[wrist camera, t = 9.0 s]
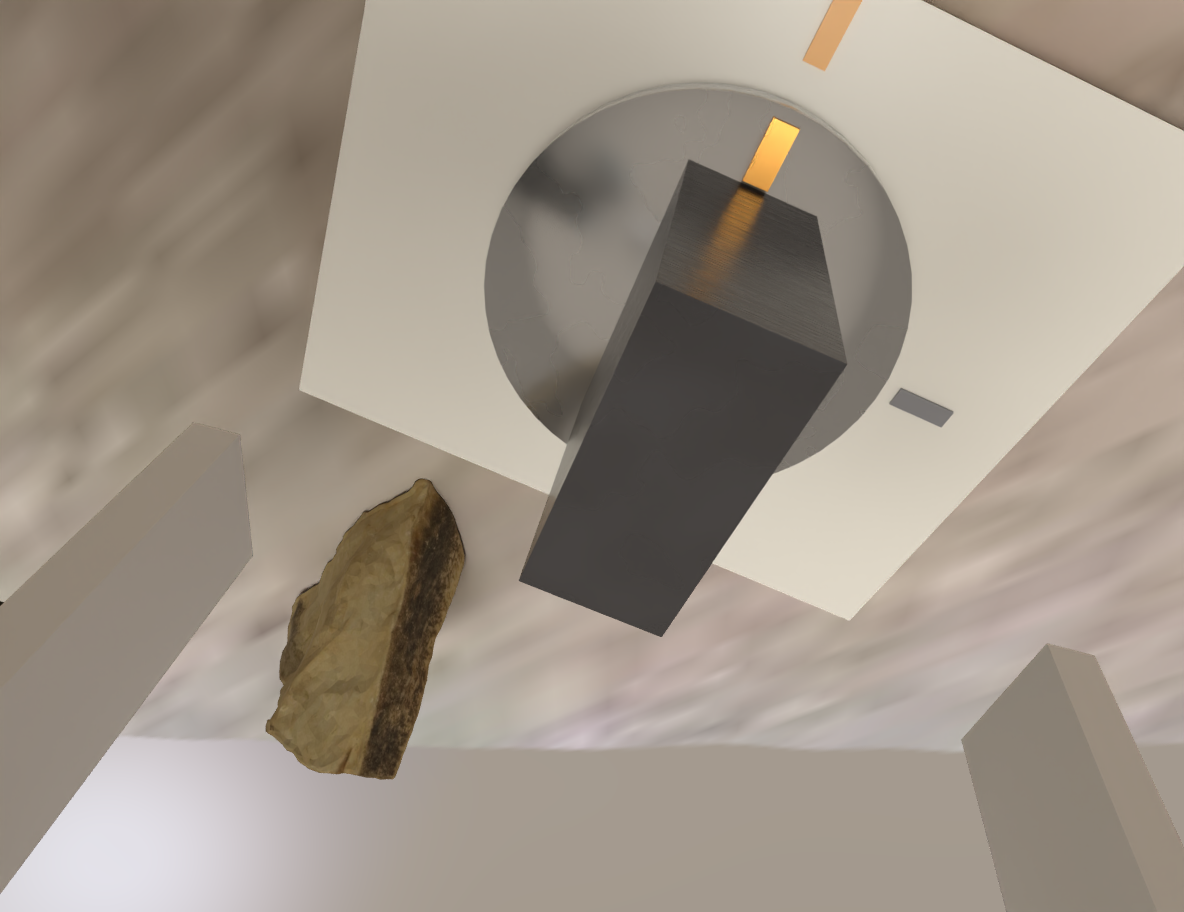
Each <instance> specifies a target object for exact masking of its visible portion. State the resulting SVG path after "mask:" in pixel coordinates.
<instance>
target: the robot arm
mask: <svg viewBox="0 0 1184 912" xmlns="http://www.w3.org/2000/svg"><path fill="white" fill-rule="evenodd" d="M252 556H253V551H252V541H251V532H250V523H249V513H248V504H247V495H246V486H245V476H244V467H243V458H242V448H241V439H240V434H236V433H233V432H229V431H225V430H221V429H217V428H213V427H209V426H206V425H202V424H198V423H194V422H193V423H192V424H191V425H190V426H189V427H188V428H187V429H186V430H185V431H184V432H183V433H182V434H181V435H180V436H178V437H177V438H176V439H175V440H174V441H173V442H172V443H171V444H170V445H169V446H168V447H167V448H166V449H165V450H164V451H163V452H162V453H161V454H160V455H159V456H157V457H156V458H155V459H154V460H153V461H152V462H151V463H150V464H149V465H148V466H147V467H146V468H145V469H144V470H143V471H142V472H141V473H140V474H139V475H138V476H136V477H135V478H134V479H133V480H132V481H131V482H130V483H129V484H128V485H127V486H126V487H125V488H124V489H123V490H122V491H121V492H120V493H119V494H118V495H117V496H115V497H114V498H113V499H112V500H111V501H110V502H109V503H108V504H107V505H106V506H105V507H104V508H103V509H102V510H101V511H100V512H99V513H98V514H97V515H96V516H94V517H93V518H92V519H91V520H90V521H89V522H88V523H87V524H86V525H85V526H84V527H83V528H82V529H81V530H80V531H79V532H78V533H77V534H76V535H75V536H73V537H72V538H71V539H70V540H69V541H68V542H67V543H66V544H65V545H64V546H63V547H62V548H61V549H60V550H59V551H58V552H57V553H56V554H55V555H54V556H52V557H51V558H50V559H49V560H48V561H47V562H46V563H45V564H44V565H43V566H42V567H41V568H40V569H39V570H38V571H37V572H36V573H35V574H34V575H33V576H31V577H30V578H29V579H28V580H27V581H26V582H25V583H24V584H23V585H22V586H21V587H20V588H19V589H18V590H17V591H16V592H15V593H14V594H13V595H12V596H10V597H9V598H8V599H7V600H6V601H5V602H1V601H0V894H1V892H2V891H3V890H4V888H5V887H6V886H7V884H8V883H9V881H10V880H11V879H12V878H13V876H14V875H15V874H16V872H17V871H18V870H19V868H20V867H21V866H22V864H23V863H24V862H25V860H26V859H27V858H28V856H29V855H30V854H31V852H32V851H33V850H34V848H35V847H36V845H37V844H38V843H39V842H40V840H41V839H42V838H43V836H44V835H45V833H46V832H47V831H48V829H49V828H50V827H51V825H52V824H53V823H54V821H55V820H56V819H57V817H58V816H59V815H60V813H61V812H62V811H63V809H64V808H65V807H66V805H67V804H68V803H69V801H70V800H71V798H72V797H73V796H74V795H75V793H76V792H77V791H78V789H79V788H80V787H81V785H82V784H83V783H84V781H85V780H86V778H87V777H88V776H89V775H90V773H91V772H92V770H93V769H94V768H95V766H96V765H97V764H98V762H99V761H100V760H101V758H102V757H103V756H104V754H105V753H106V752H107V750H108V749H109V748H110V746H111V745H112V744H113V742H114V741H115V739H116V738H117V737H118V736H119V734H120V733H121V732H122V730H123V729H124V728H125V726H126V725H127V724H128V722H129V721H130V720H131V718H132V717H133V716H134V714H135V713H136V712H137V710H138V709H139V708H140V706H141V705H142V703H143V702H144V701H145V699H146V698H147V697H148V695H149V694H150V693H151V691H152V690H153V689H154V687H155V686H156V685H157V683H158V682H159V681H160V679H161V678H162V677H163V675H164V674H165V673H166V671H167V670H168V669H169V667H170V666H171V665H172V663H173V662H174V661H175V659H176V658H177V657H178V655H179V654H180V653H181V651H182V650H183V649H184V647H185V646H186V645H187V643H188V642H189V640H190V639H191V638H192V636H193V635H194V634H195V632H196V631H197V630H198V628H199V627H200V626H201V624H202V623H203V622H204V620H205V619H206V618H207V616H208V615H209V614H210V612H211V611H212V610H213V608H214V607H215V606H216V604H217V603H218V602H219V600H220V599H221V598H222V596H223V595H224V594H225V592H226V591H227V590H228V588H229V587H230V586H231V584H232V583H233V582H234V580H235V579H236V577H237V576H238V575H239V573H240V572H241V571H242V569H243V568H244V567H245V565H246V564H247V563H248V561H249V560H250V559H251V557H252ZM962 744H963V748H964V752H965V755H966V759H967V763H968V767H969V771H970V774H971V778H972V782H973V786H974V790H975V793H976V797H977V801H978V805H979V809H980V813H981V816H982V821H983V824H984V828H985V832H986V836H987V840H988V844H989V847H990V851H991V855H992V859H993V862H994V867H995V870H996V874H997V878H998V882H999V885H1000V889H1001V893H1002V897H1003V901H1004V905H1005V908H1006V912H1184V847H1183V844H1182V842H1181V840H1180V838H1179V836H1178V833H1177V831H1176V829H1175V827H1174V825H1173V823H1172V820H1171V818H1170V816H1169V814H1168V812H1167V810H1166V808H1165V805H1164V804H1163V801H1162V799H1161V797H1160V795H1159V793H1158V790H1157V788H1156V786H1155V784H1154V782H1153V780H1152V778H1151V775H1150V774H1149V771H1148V769H1147V767H1146V765H1145V763H1144V760H1143V758H1142V756H1141V754H1140V752H1139V750H1138V748H1137V745H1136V743H1135V741H1134V739H1133V737H1132V735H1131V733H1130V730H1129V728H1128V726H1127V724H1126V722H1125V720H1124V718H1123V715H1122V713H1121V711H1120V709H1119V707H1118V705H1117V703H1116V700H1115V698H1114V696H1113V694H1112V692H1111V690H1110V687H1109V685H1108V683H1107V681H1106V679H1105V677H1104V675H1103V672H1102V670H1101V668H1100V666H1099V664H1098V662H1097V660H1096V657H1095V656H1094V655H1090V654H1087V653H1083V652H1079V651H1075V650H1071V649H1067V648H1063V647H1059V646H1056V645H1052V644H1048V643H1047V644H1046V645H1045V646H1044V647H1043V648H1042V650H1041V651H1040V652H1039V653H1038V654H1037V655H1036V656H1035V657H1034V659H1033V660H1032V661H1031V662H1030V663H1029V664H1028V665H1027V666H1026V668H1025V669H1024V670H1023V671H1022V672H1021V673H1020V674H1019V675H1018V677H1017V678H1016V679H1015V680H1014V681H1013V682H1012V683H1011V684H1010V686H1009V687H1008V688H1007V689H1006V690H1005V691H1004V692H1003V693H1002V695H1001V696H1000V697H999V698H998V699H997V700H996V701H995V702H994V704H993V705H992V706H991V707H990V708H989V709H988V710H987V711H986V713H985V714H984V715H983V716H982V717H981V718H980V719H979V720H978V722H977V723H976V724H975V725H974V726H973V727H972V728H971V729H970V731H969V732H968V733H967V734H966V735H965V736H964V737H963V738H962Z"/></svg>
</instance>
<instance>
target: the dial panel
mask: <svg viewBox="0 0 1184 912" xmlns="http://www.w3.org/2000/svg"><path fill="white" fill-rule="evenodd" d="M691 82H710V83H725V84H734V85H738V86H743V87H748V88H753V89H757V90H762V91H765V92H767V93H770V94H773V95H775V96H778V97H781V98H783V99H786V100H789V101H791V102H793V103H795V104H797V105H799V106H800V107H802V108H804V109H806V110H808V111H810V112H811V113H813V114H815V115H817V116H819V117H820V118H821V119H822V120H824V121H825V122H826V123H828V124H829V125H830V126H832V127H833V128H834V129H836V130H837V131H838V132H839V133H841V134H842V135H843V136H844V137H845V138H846V139H847V140H848V141H849V142H850V143H851V144H852V145H853V146H854V147H855V148H856V149H857V150H858V151H859V152H860V153H861V155H862V156H863V157H864V158H865V160H866V161H867V162H868V164H869V165H870V167H871V168H872V169H873V171H874V172H875V174H876V175H877V177H878V178H879V179H880V181H881V183H882V185H883V187H884V189H885V191H886V193H887V195H888V197H889V199H890V201H891V203H892V205H893V207H894V209H895V211H896V213H897V216H898V218H899V221H900V224H901V227H902V230H903V233H904V236H905V240H906V243H907V246H908V252H909V259H910V265H911V272H912V304H911V311H910V317H909V324H908V330H907V333H906V336H905V340H904V343H903V346H902V350H901V353H900V355H899V358H898V360H897V362H896V364H895V366H894V368H893V371H892V373H891V375H890V377H889V379H888V380H887V382H886V384H885V385H884V387H883V388H882V390H881V391H880V393H879V395H878V396H877V398H876V399H875V401H874V402H873V403H872V404H871V405H870V407H869V408H868V409H867V410H866V411H865V413H864V414H863V415H862V416H861V417H860V418H859V420H858V421H856V422H855V423H854V424H853V425H852V426H851V427H850V428H849V429H848V430H847V431H846V432H845V433H844V434H842V435H841V436H840V437H839V438H838V439H836V440H835V441H833V442H832V443H831V444H829V445H828V446H827V447H825V448H824V449H822V450H821V451H820V452H818V453H816V454H814V455H813V456H811V457H809V458H807V459H805V460H804V461H802V462H800V463H798V464H796V465H794V466H791V467H789V468H787V469H784V470H782V471H779V472H777V473H774V474H772V476H771V477H770V479H769V480H768V482H767V483H766V485H765V486H764V488H763V489H762V491H761V492H760V493H759V495H758V496H757V498H756V499H755V501H754V502H753V504H752V505H751V507H750V508H749V510H748V511H747V513H746V514H745V515H744V517H743V518H742V520H741V521H740V523H739V524H738V526H737V527H736V529H735V530H734V532H733V533H732V535H731V536H730V538H729V539H728V540H727V542H726V543H725V545H724V546H723V548H722V549H721V551H720V552H719V554H718V555H717V557H716V558H715V560H714V561H713V562H712V563H713V564H715V565H717V566H720V567H722V568H725V569H727V570H729V571H732V572H734V573H736V574H739V575H741V576H744V577H746V578H748V579H751V580H753V581H756V582H758V583H760V584H763V585H765V586H767V587H770V588H772V589H775V590H777V591H779V592H782V593H784V594H787V595H789V596H791V597H794V598H796V599H798V600H801V601H803V602H806V603H808V604H810V605H813V606H815V607H818V608H820V609H822V610H825V611H827V612H829V613H832V614H834V615H837V616H839V617H841V618H844V619H846V620H850V619H851V618H852V617H853V616H854V615H855V614H856V613H857V612H858V611H859V610H860V609H861V608H862V607H863V606H864V605H865V604H866V602H867V601H868V600H869V599H870V598H871V597H872V596H873V595H874V594H875V593H876V592H877V591H878V590H879V589H880V588H881V587H882V586H883V584H884V583H885V582H886V581H887V580H888V579H889V578H890V577H891V576H892V575H893V574H894V573H895V572H896V571H897V570H898V569H899V567H900V566H901V565H902V564H903V563H904V562H905V561H906V560H907V559H908V558H909V557H910V556H911V555H912V554H913V553H914V552H915V551H916V549H917V548H918V547H919V546H920V545H921V544H922V543H923V542H924V541H925V540H926V539H927V538H928V537H929V536H930V535H931V534H932V532H933V531H934V530H935V529H936V528H937V527H938V526H939V525H940V524H941V523H942V522H943V521H944V520H945V519H946V518H947V517H948V516H949V514H950V513H951V512H952V511H953V510H954V509H955V508H956V507H957V506H958V505H959V504H960V503H961V502H962V501H963V500H964V499H965V498H966V496H967V495H968V494H969V493H970V492H971V491H972V490H973V489H974V488H975V487H976V486H977V485H978V484H979V483H980V482H981V481H982V479H983V478H984V477H985V476H986V475H987V474H988V473H989V472H990V471H991V470H992V469H993V468H994V467H995V466H996V465H997V464H998V463H999V461H1000V460H1001V459H1002V458H1003V457H1004V456H1005V455H1006V454H1007V453H1008V452H1009V451H1010V450H1011V449H1012V448H1013V447H1014V446H1015V445H1016V443H1017V442H1018V441H1019V440H1020V439H1021V438H1022V437H1023V436H1024V435H1025V434H1026V433H1027V432H1028V431H1029V430H1030V429H1031V428H1032V426H1033V425H1034V424H1035V423H1036V422H1037V421H1038V420H1039V419H1040V418H1041V417H1042V416H1043V415H1044V414H1045V413H1046V412H1047V411H1048V410H1049V408H1050V407H1051V406H1052V405H1053V404H1054V403H1055V402H1056V401H1057V400H1058V399H1059V398H1060V397H1061V396H1062V395H1063V394H1064V393H1065V391H1066V390H1067V389H1068V388H1069V387H1070V386H1071V385H1072V384H1073V383H1074V382H1075V381H1076V380H1077V379H1078V378H1079V377H1080V376H1081V375H1082V373H1083V372H1084V371H1085V370H1086V369H1087V368H1088V367H1089V366H1090V365H1091V364H1092V363H1093V362H1094V361H1095V360H1096V359H1097V358H1098V357H1099V355H1100V354H1101V353H1102V352H1103V351H1104V350H1105V349H1106V348H1107V347H1108V346H1109V345H1110V344H1111V343H1112V342H1113V341H1114V340H1115V338H1116V337H1117V336H1118V335H1119V334H1120V333H1121V332H1122V331H1123V330H1124V329H1125V328H1126V327H1127V326H1128V325H1129V324H1130V323H1131V322H1132V320H1133V319H1134V318H1135V317H1136V316H1137V315H1138V314H1139V313H1140V312H1141V311H1142V310H1143V309H1144V308H1145V307H1146V306H1147V305H1148V304H1149V302H1150V301H1151V300H1152V299H1153V298H1154V297H1155V296H1156V295H1157V294H1158V293H1159V292H1160V291H1161V290H1162V289H1163V288H1164V287H1165V285H1166V284H1167V283H1168V282H1169V281H1170V280H1171V279H1172V278H1173V277H1174V276H1175V275H1176V274H1177V273H1178V272H1179V271H1180V270H1181V269H1182V267H1183V266H1184V131H1183V130H1181V129H1179V128H1177V127H1175V126H1173V125H1171V124H1169V123H1167V122H1165V121H1163V120H1161V119H1159V118H1157V117H1155V116H1153V115H1151V114H1149V113H1147V112H1145V111H1143V110H1141V109H1139V108H1137V107H1135V106H1133V105H1131V104H1129V103H1127V102H1125V101H1123V100H1121V99H1119V98H1117V97H1115V96H1113V95H1111V94H1109V93H1107V92H1105V91H1103V90H1101V89H1099V88H1097V87H1095V86H1093V85H1091V84H1089V83H1087V82H1085V81H1083V80H1081V79H1079V78H1077V77H1075V76H1073V75H1071V74H1069V73H1067V72H1065V71H1063V70H1061V69H1059V68H1057V67H1055V66H1053V65H1051V64H1049V63H1047V62H1045V61H1043V60H1041V59H1039V58H1037V57H1035V56H1033V55H1031V54H1029V53H1027V52H1025V51H1023V50H1021V49H1019V48H1017V47H1015V46H1013V45H1011V44H1009V43H1007V42H1005V41H1003V40H1001V39H999V38H997V37H995V36H993V35H991V34H989V33H987V32H985V31H983V30H981V29H979V28H977V27H975V26H973V25H971V24H969V23H967V22H965V21H963V20H961V19H958V18H956V17H954V16H952V15H950V14H948V13H946V12H944V11H942V10H940V9H938V8H936V7H934V6H932V5H930V4H928V3H926V2H924V1H922V0H366V3H365V9H364V15H363V20H362V26H361V32H360V38H359V44H358V49H357V55H356V61H355V67H354V73H353V79H352V84H351V90H350V96H349V102H348V108H347V113H346V119H345V125H344V131H343V137H342V143H341V148H340V154H339V160H338V166H337V172H336V177H335V183H334V189H333V195H332V201H331V207H330V212H329V218H328V224H327V230H326V236H325V241H324V247H323V253H322V259H321V265H320V270H319V276H318V282H317V288H316V294H315V300H314V305H313V311H312V317H311V323H310V329H309V334H308V340H307V346H306V352H305V358H304V364H303V369H302V375H301V381H300V387H299V390H300V391H303V392H305V393H307V394H310V395H312V396H314V397H317V398H319V399H322V400H324V401H326V402H329V403H331V404H334V405H336V406H338V407H341V408H343V409H345V410H348V411H350V412H353V413H355V414H357V415H360V416H362V417H365V418H367V419H369V420H372V421H374V422H376V423H379V424H381V425H384V426H386V427H388V428H391V429H393V430H396V431H398V432H400V433H403V434H405V435H407V436H410V437H412V438H415V439H417V440H419V441H422V442H424V443H427V444H429V445H431V446H434V447H436V448H438V449H441V450H443V451H446V452H448V453H450V454H453V455H455V456H458V457H460V458H462V459H465V460H467V461H469V462H472V463H474V464H477V465H479V466H481V467H484V468H486V469H489V470H491V471H493V472H496V473H498V474H500V475H503V476H505V477H508V478H510V479H512V480H515V481H517V482H520V483H522V484H524V485H527V486H529V487H531V488H534V489H536V490H539V491H541V492H543V493H546V494H548V495H549V494H550V491H551V488H552V485H553V483H554V480H555V477H556V474H557V471H558V468H559V466H560V463H561V460H562V457H563V454H564V452H565V449H566V446H567V444H565V443H564V442H563V441H562V440H560V439H559V438H558V437H556V436H555V435H554V434H553V433H551V432H550V431H549V430H548V429H547V428H546V427H545V426H544V425H543V424H542V423H541V422H540V421H539V420H538V419H537V418H536V417H535V416H534V415H533V413H532V412H531V411H530V410H529V409H528V407H527V406H526V405H525V404H524V402H523V401H522V400H521V399H520V397H519V396H518V394H517V393H516V391H515V389H514V388H513V386H512V385H511V383H510V382H509V380H508V378H507V376H506V374H505V372H504V370H503V368H502V366H501V364H500V362H499V359H498V357H497V354H496V351H495V348H494V345H493V342H492V339H491V336H490V332H489V327H488V322H487V317H486V311H485V295H484V279H485V266H486V258H487V254H488V249H489V245H490V240H491V236H492V233H493V230H494V227H495V225H496V222H497V219H498V217H499V214H500V211H501V209H502V207H503V206H504V204H505V202H506V200H507V198H508V196H509V195H510V193H511V191H512V189H513V187H514V186H515V184H516V183H517V182H518V180H519V179H520V178H521V176H522V175H523V174H524V172H525V171H526V170H527V168H528V167H529V166H530V164H531V163H532V162H533V161H534V160H535V159H536V157H537V156H538V155H539V154H540V153H541V152H542V151H543V150H544V149H545V148H546V147H547V146H548V145H549V144H550V143H551V142H552V141H553V140H554V139H555V138H556V137H557V136H558V135H559V134H560V133H561V132H563V131H564V130H565V129H567V128H568V127H569V126H571V125H572V124H573V123H575V122H576V121H577V120H579V119H580V118H581V117H583V116H584V115H586V114H588V113H590V112H592V111H593V110H595V109H597V108H599V107H601V106H603V105H604V104H606V103H608V102H610V101H613V100H615V99H618V98H621V97H623V96H626V95H629V94H631V93H634V92H637V91H640V90H645V89H649V88H654V87H658V86H662V85H667V84H678V83H691Z"/></svg>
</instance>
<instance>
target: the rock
mask: <svg viewBox="0 0 1184 912" xmlns="http://www.w3.org/2000/svg"><path fill="white" fill-rule="evenodd" d="M336 552H337V553H336V555H335V556H334V558H333V559H332V561H330V562H328V563H327V565H326V567H325V569H324V571H323V573H322V576H321V579H320V582H319V584H318V585H316V586H314V587H312V588H310V589H309V590H308V591H307V592H305V593H303V594H301V595H300V596H299V597H297V599H296V600H295V603H294V604H293V606H292V615H291V619H290V622H289V625H288V642H287V645H286V647H285V648H284V650H283V652H282V656H281V660H280V670H279V674H280V680H281V682H282V683H283V685H284V686H283V687H282V689H281V690H280V697H279V700H278V707H277V709H276V711H275V713H274V714H273V716H272V718H271V719H270V720H267V723H266V732H267V733H268V734H270V735H272V736H273V737H275V738H276V739H277V740H278V741H279V742H280V743H281V744H283V746H284V747H285V749H286V750H287V751H290V752H292V753H293V754H294V755H295V757H296V758H297V760H298V761H299V762H300V763H302V764H303V765H304V766H306V767H307V768H308V769H311V770H313V771H316V772H319V773H331V774H341V773H347V774H353V775H358V776H362V777H367V778H377V779H393V778H395V776H396V774H397V771H398V768H399V766H400V763H401V760H402V756H403V754H404V751H405V749H406V747H407V743H408V740H409V738H410V736H411V733H412V731H413V727H414V724H415V721H416V719H417V716H418V713H419V710H420V706H421V701H422V697H423V694H424V688H425V685H426V681H427V675H428V668H429V663H430V661H431V658H432V654H433V647H434V643H435V639H436V637H437V635H438V633H439V631H440V629H441V627H442V624H443V622H444V620H445V617H446V614H447V610H448V608H449V606H450V604H451V601H452V598H453V596H454V594H455V591H456V588H457V585H458V581H459V577H460V574H461V571H462V568H463V565H464V559H465V555H464V552H463V548H462V543H461V540H460V536H459V533H458V530H457V527H456V524H455V520H454V517H453V515H452V513H451V511H450V509H449V508H448V506H447V505H446V503H445V502H444V500H443V499H442V498H441V496H440V495H438V494H437V492H436V491H435V489H434V487H433V485H432V483H431V482H430V481H429V480H425V479H419V480H417V481H416V482H415V483H414V485H413V487H412V488H411V489H410V490H409V491H408V492H406V493H404V494H402V495H400V496H398V497H396V498H394V499H392V500H391V501H390V502H388V503H384V504H381V505H378V506H377V507H375V508H374V509H373V510H371V511H370V512H363V513H362V515H361V516H360V518H359V519H358V521H357V522H356V523H355V525H354V526H353V527H352V528H351V529H350V530H349V531H347V532H346V533H345V535H344V536H343V540H342V542H341V543H340V544H339V545H338V547H337V549H336Z"/></svg>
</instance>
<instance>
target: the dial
mask: <svg viewBox="0 0 1184 912" xmlns="http://www.w3.org/2000/svg"><path fill="white" fill-rule="evenodd" d="M484 295H485V311H486V317H487V322H488V327H489V332H490V336H491V339H492V342H493V345H494V348H495V351H496V354H497V357H498V359H499V362H500V364H501V366H502V368H503V370H504V372H505V374H506V376H507V378H508V380H509V382H510V383H511V385H512V386H513V388H514V389H515V391H516V393H517V394H518V396H519V397H520V399H521V400H522V401H523V402H524V404H525V405H526V406H527V407H528V409H529V410H530V411H531V412H532V413H533V415H534V416H535V417H536V418H537V419H538V420H539V421H540V422H541V423H542V424H543V425H544V426H545V427H546V428H547V429H548V430H549V431H550V432H551V433H553V434H554V435H555V436H556V437H558V438H559V439H560V440H562V441H563V442H564V443H565V444H567V446H566V449H565V452H564V454H563V457H562V460H561V463H560V466H559V468H558V471H557V474H556V477H555V480H554V483H553V485H552V488H551V491H550V494H549V497H548V500H547V502H546V505H545V508H544V511H543V514H542V516H541V519H540V522H539V525H538V528H537V531H536V533H535V536H534V539H533V542H532V545H531V548H530V550H529V553H528V556H527V559H526V562H525V565H524V567H523V570H522V573H521V576H520V579H519V581H520V582H523V583H525V584H528V585H530V586H533V587H536V588H538V589H541V590H543V591H546V592H548V593H551V594H553V595H556V596H558V597H561V598H563V599H566V600H568V601H571V602H574V603H576V604H579V605H581V606H584V607H586V608H589V609H591V610H594V611H596V612H599V613H601V614H604V615H606V616H609V617H612V618H614V619H617V620H619V621H622V622H624V623H627V624H629V625H632V626H634V627H637V628H639V629H642V630H644V631H647V632H649V633H652V634H655V635H657V636H660V637H662V636H663V634H664V633H665V631H666V630H667V629H668V627H669V626H670V624H671V623H672V621H673V620H674V618H675V617H676V615H677V614H678V612H679V611H680V609H681V608H682V607H683V605H684V604H685V602H686V601H687V599H688V598H689V596H690V595H691V593H692V592H693V590H694V589H695V587H696V586H697V584H698V583H699V582H700V580H701V579H702V577H703V576H704V574H705V573H706V571H707V570H708V568H709V567H710V565H711V564H712V562H713V561H714V560H715V558H716V557H717V555H718V554H719V552H720V551H721V549H722V548H723V546H724V545H725V543H726V542H727V540H728V539H729V538H730V536H731V535H732V533H733V532H734V530H735V529H736V527H737V526H738V524H739V523H740V521H741V520H742V518H743V517H744V515H745V514H746V513H747V511H748V510H749V508H750V507H751V505H752V504H753V502H754V501H755V499H756V498H757V496H758V495H759V493H760V492H761V491H762V489H763V488H764V486H765V485H766V483H767V482H768V480H769V479H770V477H771V476H772V474H774V473H777V472H779V471H782V470H784V469H787V468H789V467H791V466H794V465H796V464H798V463H800V462H802V461H804V460H805V459H807V458H809V457H811V456H813V455H814V454H816V453H818V452H820V451H821V450H822V449H824V448H825V447H827V446H828V445H829V444H831V443H832V442H833V441H835V440H836V439H838V438H839V437H840V436H841V435H842V434H844V433H845V432H846V431H847V430H848V429H849V428H850V427H851V426H852V425H853V424H854V423H855V422H856V421H858V420H859V418H860V417H861V416H862V415H863V414H864V413H865V411H866V410H867V409H868V408H869V407H870V405H871V404H872V403H873V402H874V401H875V399H876V398H877V396H878V395H879V393H880V391H881V390H882V388H883V387H884V385H885V384H886V382H887V380H888V379H889V377H890V375H891V373H892V371H893V368H894V366H895V364H896V362H897V360H898V358H899V355H900V353H901V350H902V346H903V343H904V340H905V336H906V333H907V330H908V324H909V317H910V311H911V304H912V272H911V265H910V259H909V252H908V246H907V243H906V240H905V236H904V233H903V230H902V227H901V224H900V221H899V218H898V216H897V213H896V211H895V209H894V207H893V205H892V203H891V201H890V199H889V197H888V195H887V193H886V191H885V189H884V187H883V185H882V183H881V181H880V179H879V178H878V177H877V175H876V174H875V172H874V171H873V169H872V168H871V167H870V165H869V164H868V162H867V161H866V160H865V158H864V157H863V156H862V155H861V153H860V152H859V151H858V150H857V149H856V148H855V147H854V146H853V145H852V144H851V143H850V142H849V141H848V140H847V139H846V138H845V137H844V136H843V135H842V134H841V133H839V132H838V131H837V130H836V129H834V128H833V127H832V126H830V125H829V124H828V123H826V122H825V121H824V120H822V119H821V118H820V117H819V116H817V115H815V114H813V113H811V112H810V111H808V110H806V109H804V108H802V107H800V106H799V105H797V104H795V103H793V102H791V101H789V100H786V99H783V98H781V97H778V96H775V95H773V94H770V93H767V92H765V91H762V90H757V89H753V88H748V87H743V86H738V85H734V84H725V83H710V82H691V83H678V84H667V85H662V86H658V87H654V88H649V89H645V90H640V91H637V92H634V93H631V94H629V95H626V96H623V97H621V98H618V99H615V100H613V101H610V102H608V103H606V104H604V105H603V106H601V107H599V108H597V109H595V110H593V111H592V112H590V113H588V114H586V115H584V116H583V117H581V118H580V119H579V120H577V121H576V122H575V123H573V124H572V125H571V126H569V127H568V128H567V129H565V130H564V131H563V132H561V133H560V134H559V135H558V136H557V137H556V138H555V139H554V140H553V141H552V142H551V143H550V144H549V145H548V146H547V147H546V148H545V149H544V150H543V151H542V152H541V153H540V154H539V155H538V156H537V157H536V159H535V160H534V161H533V162H532V163H531V164H530V166H529V167H528V168H527V170H526V171H525V172H524V174H523V175H522V176H521V178H520V179H519V180H518V182H517V183H516V184H515V186H514V187H513V189H512V191H511V193H510V195H509V196H508V198H507V200H506V202H505V204H504V206H503V207H502V209H501V211H500V214H499V217H498V219H497V222H496V225H495V227H494V230H493V233H492V236H491V240H490V245H489V249H488V254H487V258H486V266H485V279H484Z"/></svg>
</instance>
